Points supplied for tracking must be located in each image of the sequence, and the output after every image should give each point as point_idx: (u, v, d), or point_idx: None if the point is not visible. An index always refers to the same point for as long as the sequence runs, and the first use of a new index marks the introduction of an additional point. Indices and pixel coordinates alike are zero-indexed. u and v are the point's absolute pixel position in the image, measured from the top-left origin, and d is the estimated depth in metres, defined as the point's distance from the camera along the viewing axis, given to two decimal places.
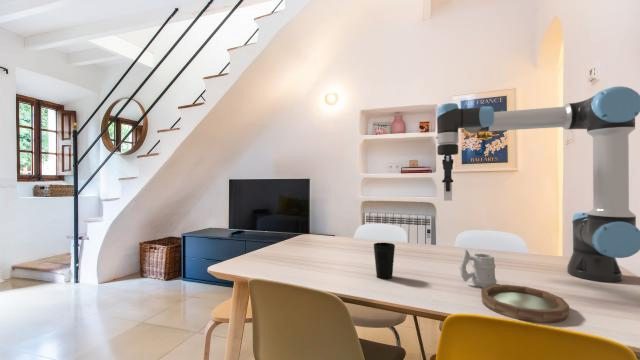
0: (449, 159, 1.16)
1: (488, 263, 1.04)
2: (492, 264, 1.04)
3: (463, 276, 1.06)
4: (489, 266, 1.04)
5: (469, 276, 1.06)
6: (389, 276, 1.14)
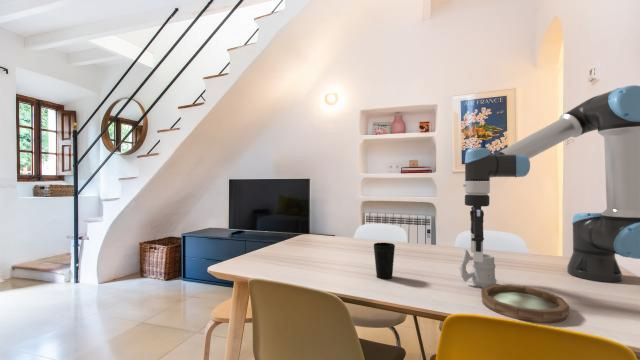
0: (480, 214, 1.00)
1: (488, 263, 1.04)
2: (492, 264, 1.04)
3: (463, 276, 1.06)
4: (489, 266, 1.04)
5: (469, 276, 1.06)
6: (389, 276, 1.14)
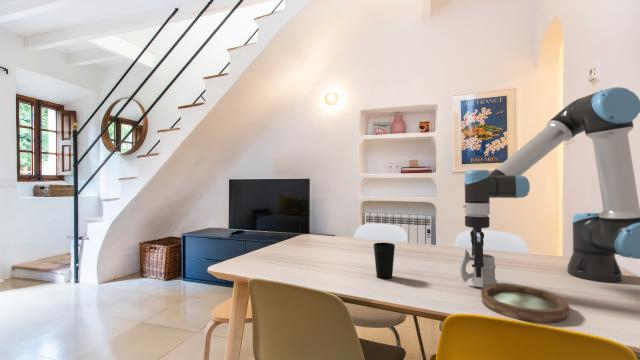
0: (480, 240, 1.01)
1: (488, 263, 1.03)
2: (492, 264, 1.04)
3: (463, 276, 1.06)
4: (489, 266, 1.03)
5: (469, 276, 1.06)
6: (389, 276, 1.14)
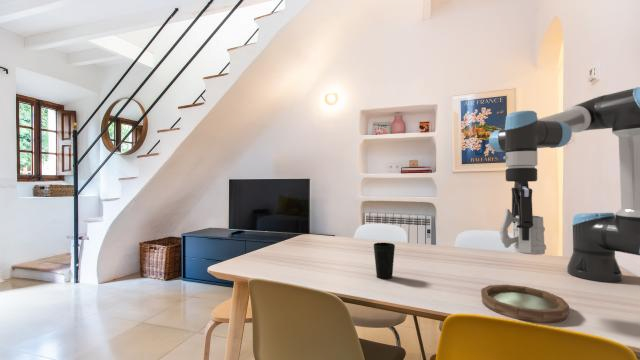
0: (529, 194, 0.82)
1: (536, 224, 0.85)
2: (541, 226, 0.85)
3: (504, 241, 0.87)
4: (538, 227, 0.84)
5: (512, 241, 0.87)
6: (389, 276, 1.14)
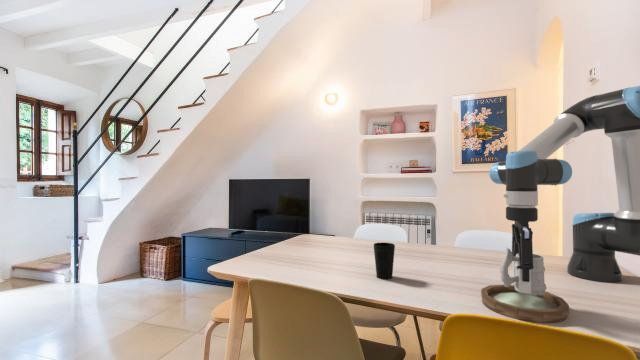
0: (529, 236, 0.82)
1: (537, 265, 0.85)
2: (541, 266, 0.85)
3: (505, 280, 0.87)
4: (538, 268, 0.84)
5: (512, 280, 0.87)
6: (389, 276, 1.14)
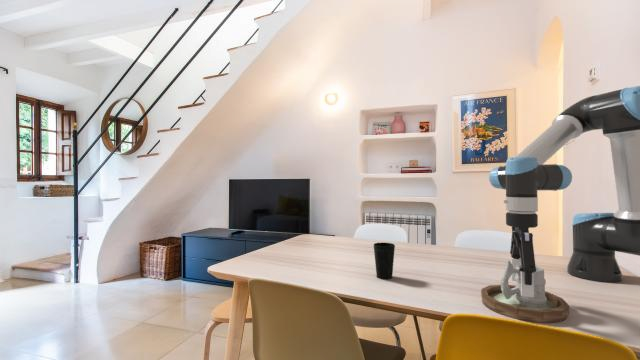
0: (529, 238, 0.82)
1: (537, 277, 0.85)
2: (542, 279, 0.85)
3: (505, 293, 0.87)
4: (539, 281, 0.84)
5: (512, 293, 0.87)
6: (389, 276, 1.14)
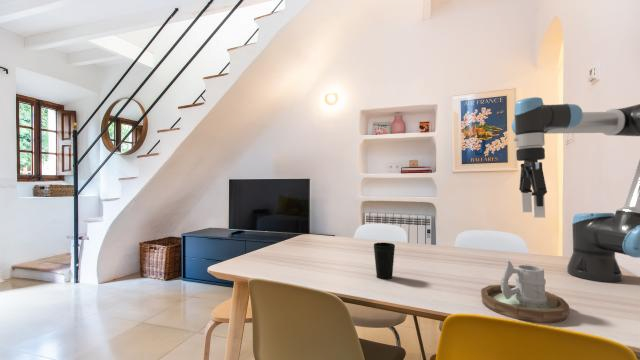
0: (539, 166, 0.94)
1: (537, 277, 0.85)
2: (542, 279, 0.85)
3: (505, 293, 0.87)
4: (539, 281, 0.84)
5: (512, 293, 0.87)
6: (389, 276, 1.14)
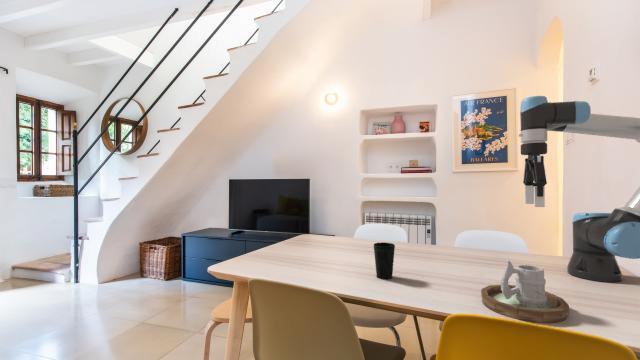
0: (541, 160, 1.01)
1: (537, 277, 0.85)
2: (542, 279, 0.85)
3: (505, 293, 0.87)
4: (539, 281, 0.84)
5: (512, 293, 0.87)
6: (389, 276, 1.14)
